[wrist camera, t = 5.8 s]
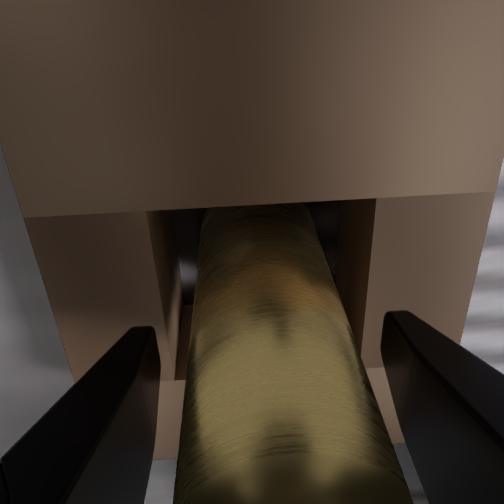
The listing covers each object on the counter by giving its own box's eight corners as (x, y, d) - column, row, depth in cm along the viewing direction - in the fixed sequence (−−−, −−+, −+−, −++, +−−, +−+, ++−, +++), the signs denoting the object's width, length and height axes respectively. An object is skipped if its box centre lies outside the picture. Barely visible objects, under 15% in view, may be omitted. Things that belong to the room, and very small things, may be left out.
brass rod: (313, 177, 12) (433, 446, 5) (311, 276, 13) (400, 589, 7) (195, 184, 12) (152, 466, 5) (206, 283, 13) (184, 606, 6)
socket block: (540, -524, 7) (735, -837, 4) (401, 362, 15) (437, 440, 13) (-95, -508, 7) (-303, -827, 4) (122, 380, 15) (100, 463, 12)
